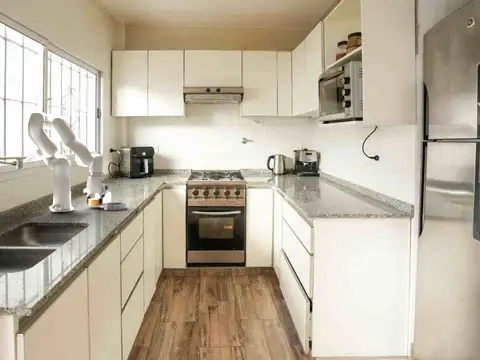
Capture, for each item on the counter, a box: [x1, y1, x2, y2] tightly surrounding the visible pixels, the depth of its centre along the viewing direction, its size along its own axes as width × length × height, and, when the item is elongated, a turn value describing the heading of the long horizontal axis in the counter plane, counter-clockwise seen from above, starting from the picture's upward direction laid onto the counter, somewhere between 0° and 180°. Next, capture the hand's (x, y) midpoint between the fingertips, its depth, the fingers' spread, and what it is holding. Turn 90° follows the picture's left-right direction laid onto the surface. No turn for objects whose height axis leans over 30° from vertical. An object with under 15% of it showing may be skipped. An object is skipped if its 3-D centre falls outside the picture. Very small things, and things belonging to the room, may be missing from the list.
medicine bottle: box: [95, 184, 112, 205], centre depth 303 cm, size 7×7×12 cm
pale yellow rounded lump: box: [88, 197, 102, 207], centre depth 286 cm, size 7×7×4 cm
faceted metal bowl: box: [103, 201, 127, 211], centre depth 282 cm, size 13×13×3 cm
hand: (94, 204), depth 286 cm, fingers closed on pale yellow rounded lump, 7 cm apart
